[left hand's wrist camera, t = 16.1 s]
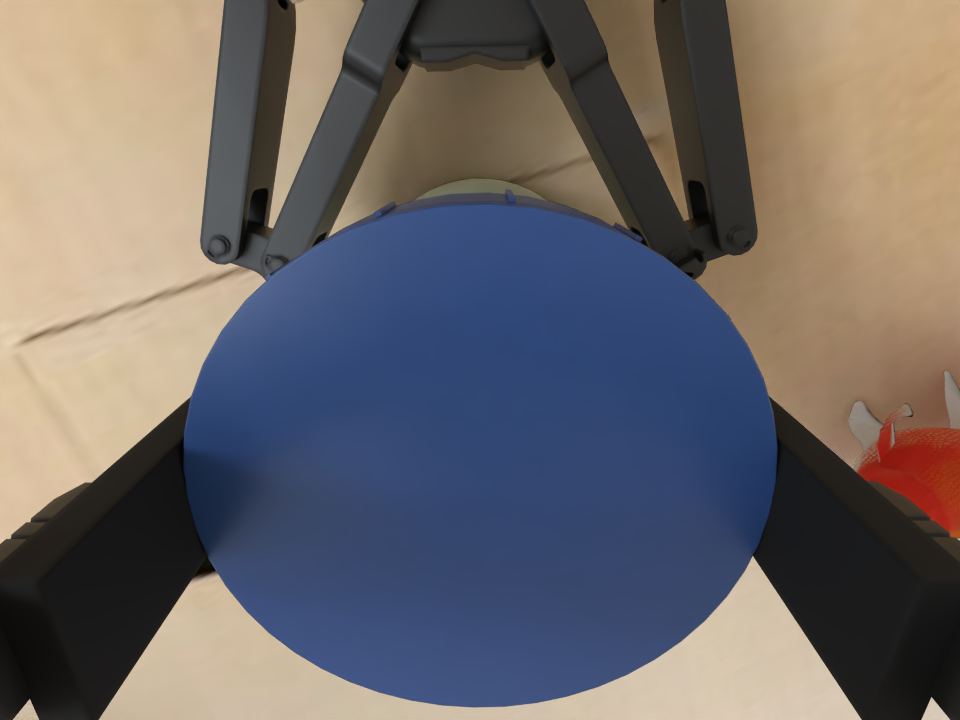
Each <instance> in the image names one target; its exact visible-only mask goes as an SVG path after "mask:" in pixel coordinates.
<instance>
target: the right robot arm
mask: <svg viewBox="0 0 960 720" xmlns="http://www.w3.org/2000/svg"><path fill="white" fill-rule="evenodd" d="M302 1H303V0H224V10H223V20H222V30H221V40H220V50H219V60H218V69H217V79H216V89H215V99H214V109H213V119H212V129H211V139H210V149H209V159H208V169H207V178H206V188H205V198H204V208H203V218H202V228H201V238H200V243H201V249H202V251H203V253H204V255H205V256H206V257H207V258H208V259H209V260H210V261H212V262H214V263H216V264H224V265H225V264H228V263H232V264H235V265H239V266H242V267H245V268H248V269H251V270H253V271H255V272H257V273H259V274H260V275H261V276H262V277H263V278H264V279H265V280H266V281H267V279H266V278H265V277H266V276H267V275H268V274H269V273H271V272H273V271H274V270H276V269H278V268H279V267H281V266H283V265H284V264H286V263H287V262H289V261H291V260H292V259H294V258H296V257H297V256H298V257H299V256H300V255H301V254H303V253H304V252H306V251H307V250H309V249H310V248H312V247H313V246H315V245H317V244H318V243H320V242H322V241H323V240H325V239H327V238H328V236H329V234H330V231H331V229H332V227H333V225H334V223H335V221H336V219H337V217H338V214H339V212H340V210H341V208H342V206H343V204H344V202H345V199H346V197H347V195H348V193H349V191H350V189H351V187H352V185H353V182H354V180H355V178H356V176H357V174H358V172H359V170H360V167H361V165H362V163H363V161H364V159H365V157H366V155H367V153H368V150H369V148H370V146H371V144H372V142H373V140H374V138H375V136H376V133H377V131H378V129H379V127H380V125H381V123H382V121H383V118H384V116H385V114H386V112H387V110H388V108H389V106H390V104H391V102H392V100H393V98H394V97H395V95H396V94H397V93H398V91H399V90H400V88H401V86H402V84H403V82H404V80H405V78H406V75H407V73H408V71H409V69H410V67H411V65H412V63H413V64H415V65H418V66H420V67H423V68H425V69H426V70H427V72H430V71H453V70H456V69H459V68H462V67H465V66H468V65H471V64H480V65H484V66H487V67H491V68H495V69H498V70H524V69H525V67H526V66H528V65H531V64H533V63H535V62H537V61H538V60H539V62H540V64H541V66H542V67H543V69H544V71H545V73H546V75H547V77H548V79H549V81H550V83H551V85H552V86H553V88H554V89H555V91H556V92H557V93H558V94H559V96H560V97H561V99H562V101H563V103H564V105H565V107H566V109H567V111H568V113H569V115H570V116H571V118H572V120H573V122H574V124H575V126H576V128H577V130H578V132H579V134H580V136H581V138H582V140H583V142H584V144H585V146H586V147H587V149H588V151H589V153H590V155H591V157H592V159H593V161H594V163H595V165H596V167H597V169H598V171H599V173H600V175H601V177H602V178H603V180H604V182H605V184H606V186H607V188H608V190H609V192H610V194H611V196H612V198H613V200H614V202H615V204H616V206H617V208H618V210H619V211H620V213H621V215H622V217H623V219H624V221H625V223H626V225H627V227H628V229H629V230H630V231H631V232H633V233H635V234H637V235H638V236H640V237H642V238H643V239H642V240H641V242H640V243H642V244H643V245H645V246H647V247H648V248H650V249H652V250H653V251H655V252H657V253H658V254H660V255H662V256H663V257H665V258H666V259H667V260H669V261H670V262H671V263H672V264H674V265H675V266H676V267H678V268H679V269H680V270H681V271H683V272H684V273H685V274H687V275H688V276H689V277H690V278H692V279H693V280H695V279H697V278H698V277H699V276H700V275H701V274H702V273H703V271H704V270H705V268H706V265H707V261H710V260H713V259H716V258H719V257H721V256H724V255H727V254H730V255H733V256H734V255H741V254H743V253H745V252H747V251H749V250H750V249H751V247H752V246H753V245H754V243H755V241H756V239H757V224H756V216H755V209H754V202H753V195H752V188H751V180H750V173H749V166H748V159H747V152H746V145H745V137H744V130H743V123H742V116H741V109H740V101H739V94H738V87H737V80H736V73H735V65H734V58H733V51H732V44H731V37H730V29H729V22H728V15H727V8H726V1H725V0H654V24H655V32H656V39H657V45H658V50H659V55H660V61H661V66H662V72H663V77H664V83H665V88H666V94H667V99H668V105H669V110H670V115H671V121H672V126H673V132H674V137H675V143H676V148H677V154H678V159H679V164H680V170H681V175H682V181H683V186H684V192H685V197H686V203H687V208H688V214H689V220H687V221H683V219H682V217H681V214H680V212H679V210H678V208H677V206H676V204H675V202H674V200H673V198H672V196H671V193H670V191H669V189H668V187H667V185H666V183H665V181H664V179H663V177H662V175H661V172H660V170H659V168H658V166H657V164H656V162H655V160H654V158H653V156H652V153H651V151H650V149H649V147H648V145H647V143H646V141H645V139H644V137H643V135H642V132H641V130H640V128H639V126H638V124H637V122H636V120H635V118H634V116H633V114H632V111H631V109H630V107H629V105H628V103H627V101H626V99H625V97H624V95H623V93H622V90H621V88H620V86H619V84H618V82H617V80H616V78H615V76H614V74H613V72H612V69H611V67H610V65H609V61H608V54H607V50H606V47H605V44H604V42H603V39H602V37H601V35H600V33H599V31H598V29H597V27H596V25H595V22H594V20H593V18H592V16H591V14H590V12H589V10H588V8H587V6H586V3H585V1H584V0H361V1H362V2H363V3H364V6H363V8H362V10H361V13H360V15H359V17H358V20H357V22H356V24H355V27H354V29H353V31H352V34H351V36H350V38H349V41H348V43H347V46H346V48H345V51H344V55H343V61H342V69H341V72H340V74H339V77H338V79H337V81H336V84H335V86H334V88H333V91H332V93H331V95H330V98H329V100H328V102H327V105H326V107H325V109H324V112H323V114H322V116H321V119H320V121H319V123H318V126H317V128H316V130H315V133H314V135H313V137H312V140H311V142H310V144H309V147H308V149H307V151H306V154H305V156H304V158H303V161H302V163H301V165H300V168H299V170H298V172H297V175H296V177H295V179H294V182H293V184H292V186H291V189H290V191H289V193H288V196H287V198H286V200H285V203H284V205H283V207H282V209H281V212H280V214H279V216H278V219H277V221H276V223H275V226H274V228H273V229H272V228H269V227H268V223H269V216H270V209H271V202H272V195H273V189H274V182H275V175H276V168H277V161H278V154H279V147H280V140H281V134H282V127H283V120H284V113H285V106H286V99H287V92H288V86H289V79H290V72H291V65H292V58H293V51H294V44H295V33H296V10H295V4H296V3H299V2H302Z"/></svg>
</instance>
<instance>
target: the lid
mask: <svg viewBox="0 0 960 720" xmlns="http://www.w3.org/2000/svg"><path fill="white" fill-rule="evenodd" d="M642 239H643V238H642V237H640V236H638V235H637V234H635V233H633V232H631V231H630V230H628V229H626V228H624V227H623V226H621V225H619V224H617V223H615V225H614V226H611V225H609V224H607V223H606V222H604V221H602V220H600V219H598V218H596V217H593V216H591V215H588V214H586V213H583V212H580V211H578V210H575V209H573V208H570V207H568V206H565V205H562V204H558V203H553V202H549V201H545V200H541V199H537V198H533V197H528V196H520V195H514V194H513V192H512V191H511V190H508V189H506V190H505V194H500V193H490V192H485V193H460V194H447V195H441V196H435V197H430V198H424V199H419V200H413V201H409V202H406V203H403V204H400V205H397V206H396V204H395V202H391V203H389V204H387V205H385V206H384V207H382V208H381V209H379V210H378V211H376V212H375V213H374V214H372V215H370V216H368V217H366V218H364V219H362V220H360V221H357V222H355V223H353V224H351V225H349V226H347V227H345V228H343V229H341V230H340V231H338V232H337V233H335V234H333V235H332V236H330V237H328V238H327V239H325V240H323V241H322V242H320V243H318V244H317V245H315V246H313V247H312V248H310V249H309V250H307V251H306V252H304V253H303V254H301V255H300V256H299V257H298V256H297V257H296V258H294V259H292V260H291V261H289V262H287V263H286V264H284V265H283V266H281V267H279V268H278V269H276V270H274V271H273V272H271V273H269V274H268V275H267V276H266V277H265V278H266V279H267V281H266V282H265V283H264V284H263V285H261V286H260V287H259V288H258V289H257V290H256V291H255V292H254V293H253V294H252V295H251V296H250V297H249V298H247V299H246V301H245V302H244V303H243V304H242V306H241V307H240V308H239V309H238V311H237V312H236V313H235V314H234V316H233V317H232V318H231V320H230V321H229V322H228V323H227V325H226V326H225V327H224V328H223V330H222V331H221V333H220V335H219V336H218V338H217V340H216V342H215V344H214V345H213V347H212V349H211V351H210V352H209V354H208V356H207V358H206V360H205V361H204V363H203V366H202V368H201V371H200V374H199V377H198V379H197V382H196V385H195V388H194V390H193V393H192V396H191V399H190V404H189V410H188V415H187V420H186V425H185V431H184V455H183V469H184V477H185V485H186V492H187V497H188V501H189V505H190V509H191V513H192V517H193V521H194V524H195V528H196V531H197V533H198V535H199V538H200V540H201V542H202V544H203V546H204V549H205V551H206V553H207V555H208V558H209V560H210V561H211V563H212V565H213V566H214V568H215V569H216V571H217V573H218V574H219V576H220V577H221V579H222V581H223V582H224V584H225V585H226V587H227V588H228V589H229V591H230V592H231V593H232V594H233V595H234V597H235V598H236V599H237V600H238V602H239V603H240V604H241V605H242V606H243V608H244V609H245V610H246V611H247V612H248V613H249V614H250V615H251V616H252V617H253V618H254V619H255V620H256V621H257V622H258V623H259V624H260V625H261V626H262V627H263V628H264V629H266V630H267V631H268V632H269V633H270V634H271V635H272V636H274V637H275V638H276V639H278V640H279V641H280V642H282V643H283V644H284V645H286V646H287V647H288V648H290V649H291V650H292V651H293V652H295V653H297V654H298V655H300V656H302V657H303V658H305V659H307V660H308V661H310V662H311V663H313V664H315V665H316V666H318V667H320V668H321V669H324V670H326V671H328V672H330V673H332V674H334V675H336V676H338V677H340V678H343V679H345V680H347V681H349V682H351V683H354V684H357V685H360V686H363V687H365V688H368V689H371V690H374V691H377V692H379V693H383V694H387V695H391V696H395V697H399V698H403V699H407V700H411V701H418V702H424V703H430V704H437V705H445V706H460V707H506V706H514V705H523V704H531V703H539V702H543V701H548V700H553V699H557V698H562V697H567V696H570V695H574V694H577V693H580V692H583V691H586V690H590V689H593V688H596V687H599V686H601V685H604V684H606V683H609V682H611V681H613V680H616V679H618V678H620V677H623V676H625V675H627V674H629V673H631V672H633V671H635V670H637V669H638V668H640V667H642V666H644V665H646V664H648V663H649V662H651V661H653V660H655V659H656V658H658V657H659V656H661V655H662V654H664V653H665V652H667V651H668V650H669V649H671V648H672V647H674V646H675V645H677V644H678V643H680V642H681V641H682V640H683V639H685V638H686V637H687V636H688V635H689V634H690V633H691V632H693V631H694V630H695V629H696V628H697V627H698V626H699V625H701V624H702V623H703V622H704V621H705V620H706V619H707V618H708V617H709V616H710V615H711V614H712V612H713V611H714V610H715V609H716V608H717V607H718V606H719V605H720V604H721V603H722V601H723V600H724V599H725V598H726V597H727V596H728V594H729V593H730V591H731V590H732V588H733V587H734V586H735V584H736V583H737V581H738V580H739V579H740V577H741V576H742V574H743V573H744V571H745V570H746V568H747V566H748V564H749V562H750V560H751V558H752V556H753V554H754V552H755V550H756V548H757V547H758V545H759V542H760V540H761V537H762V534H763V531H764V528H765V526H766V523H767V520H768V516H769V512H770V508H771V503H772V499H773V495H774V490H775V485H776V475H777V449H778V447H777V439H776V430H775V422H774V414H773V409H772V406H771V403H770V399H769V396H768V392H767V389H766V385H765V382H764V378H763V376H762V374H761V372H760V370H759V368H758V366H757V363H756V361H755V359H754V357H753V355H752V353H751V351H750V349H749V347H748V345H747V343H746V342H745V340H744V339H743V337H742V336H741V334H740V333H739V331H738V330H737V329H736V327H735V326H734V324H733V323H732V321H731V318H730V317H729V316H728V315H727V314H726V313H725V311H724V310H723V309H722V308H721V307H720V306H719V305H718V304H717V303H716V302H715V301H714V300H713V299H712V298H711V297H710V296H709V295H708V294H707V292H706V291H705V290H704V289H703V288H702V287H701V286H700V285H699V284H698V283H697V282H696V281H694V280H693V279H692V278H690V277H689V276H688V275H687V274H685V273H684V272H683V271H681V270H680V269H679V268H678V267H676V266H675V265H674V264H672V263H671V262H670V261H669V260H667V259H666V258H665V257H663V256H662V255H660V254H658V253H657V252H655V251H653V250H652V249H650V248H648V247H647V246H645V245H643V244H642V243H640V242H641V240H642Z"/></svg>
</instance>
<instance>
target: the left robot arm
mask: <svg viewBox="0 0 960 720" xmlns="http://www.w3.org/2000/svg"><path fill="white" fill-rule="evenodd" d="M190 399H191V397H190V398H189V399H188V400H187V401H185V402H184V403H183V404H182V405H181V406H180V407H178V408H177V409H176V410H175V411H174V412H173V413H172V414H170V415H169V416H168V417H167V418H166V419H165V420H164V421H162V422H161V423H160V424H159V425H158V426H157V427H155V428H154V429H153V430H152V431H151V432H150V433H149V434H147V435H146V436H145V437H144V438H143V439H142V440H140V441H139V442H138V443H137V444H136V445H135V446H134V447H132V448H131V449H130V450H129V451H128V452H127V453H126V454H124V455H123V456H122V457H121V458H120V459H119V460H117V461H116V462H115V463H114V464H113V465H112V466H111V467H109V468H108V469H107V470H106V471H105V472H104V473H103V474H101V475H100V476H99V477H98V478H97V479H96V480H94V481H93V482H92V483H84V484H82V485H80V486H78V487H76V488H74V489H72V490H71V491H69V492H67V493H65V494H63V495H61V496H59V497H58V498H56V499H54V500H53V501H52V502H50V503H49V504H48V505H47V506H46V507H44V508H43V509H42V510H41V511H40V512H38V513H37V514H36V515H35V516H34V517H32V518H31V522H26V523H25V524H24V525H23V526H22V527H20V528H19V529H18V530H17V531H16V532H14V533H13V534H12V535H11V536H12V537H11V539H6V540H5V541H3V542H2V543H1V544H0V720H13V719H14V717H15V716H16V715H17V714H18V713H19V711H20V710H21V709H22V708H23V706H24V705H25V704H26V703H27V701H28V700H29V699H30V700H31V702H32V704H33V707H34V709H35V711H36V713H37V716H38V718H39V720H99V718H100V717H101V715H102V714H103V712H104V711H105V709H106V708H107V706H108V705H109V703H110V702H111V700H112V699H113V697H114V696H115V694H116V693H117V691H118V690H119V688H120V687H121V685H122V684H123V682H124V681H125V679H126V678H127V676H128V675H129V673H130V672H131V670H132V669H133V667H134V666H135V664H136V663H137V661H138V659H139V658H140V656H141V655H142V653H143V652H144V650H145V649H146V647H147V646H148V644H149V643H150V641H151V640H152V638H153V637H154V635H155V634H156V632H157V631H158V629H159V628H160V626H161V625H162V623H163V622H164V620H165V619H166V617H167V616H168V614H169V613H170V611H171V610H172V608H173V607H174V605H175V604H176V602H177V601H178V599H179V598H180V596H181V595H182V593H183V592H184V590H185V589H186V587H187V586H188V584H189V583H190V581H191V580H192V578H193V577H194V575H195V574H196V572H197V571H198V569H199V568H200V566H201V565H202V563H203V562H204V560H205V559H206V557H207V556H208V555H207V553H206V551H205V549H204V546H203V544H202V542H201V540H200V538H199V535H198V533H197V531H196V528H195V524H194V521H193V517H192V513H191V509H190V505H189V501H188V497H187V492H186V485H185V477H184V469H183V455H184V431H185V425H186V420H187V415H188V410H189V404H190ZM769 399H770V403H771V406H772V409H773V414H774V422H775V430H776V439H777V447H778V449H777V475H776V485H775V490H774V495H773V499H772V503H771V508H770V512H769V516H768V520H767V523H766V526H765V528H764V531H763V534H762V537H761V540H760V542H759V545H758V547H757V548H756V550H755V552H754V554H753V557H754V558H755V560H756V561H757V563H758V564H759V566H760V567H761V569H762V570H763V572H764V573H765V575H766V576H767V578H768V579H769V581H770V582H771V584H772V585H773V587H774V588H775V590H776V591H777V593H778V594H779V596H780V597H781V599H782V600H783V602H784V603H785V605H786V606H787V608H788V609H789V611H790V612H791V614H792V615H793V617H794V618H795V620H796V621H797V623H798V624H799V626H800V627H801V629H802V630H803V632H804V633H805V635H806V636H807V638H808V639H809V641H810V642H811V644H812V645H813V647H814V648H815V650H816V651H817V653H818V654H819V656H820V657H821V659H822V660H823V662H824V664H825V665H826V667H827V668H828V670H829V671H830V673H831V674H832V676H833V677H834V679H835V680H836V682H837V683H838V685H839V686H840V688H841V689H842V691H843V692H844V694H845V695H846V697H847V698H848V700H849V701H850V703H851V704H852V706H853V707H854V709H855V710H856V712H857V713H858V715H859V716H860V718H861V719H862V720H921V719H922V717H923V715H924V712H925V710H926V708H927V706H928V703H929V701H930V699H931V697H932V698H933V699H934V700H935V702H936V703H937V704H938V705H939V706H940V708H941V709H942V710H943V711H944V713H945V714H946V715H947V716H948V717H949V719H950V720H960V541H959V540H958V539H957V538H955V537H950V533H949V532H948V531H947V530H946V529H944V528H943V527H942V526H941V525H940V524H938V523H937V522H936V521H931V520H930V516H929V515H927V514H926V513H925V512H924V511H923V510H921V509H920V508H919V507H918V506H917V505H915V504H914V503H913V502H912V501H911V500H909V499H908V498H907V497H905V496H903V495H901V494H899V493H898V492H896V491H894V490H892V489H890V488H888V487H886V486H885V485H883V484H881V483H879V482H877V481H866V480H865V479H864V478H862V477H861V476H860V475H859V474H858V473H857V472H856V471H854V470H853V469H852V468H851V467H850V466H849V465H847V464H846V463H845V462H844V461H843V460H842V459H841V458H839V457H838V456H837V455H836V454H835V453H834V452H833V451H831V450H830V449H829V448H828V447H827V446H826V445H824V444H823V443H822V442H821V441H820V440H819V439H818V438H816V437H815V436H814V435H813V434H812V433H811V432H810V431H808V430H807V429H806V428H805V427H804V426H803V425H801V424H800V423H799V422H798V421H797V420H796V419H795V418H793V417H792V416H791V415H790V414H789V413H788V412H787V411H785V410H784V409H783V408H782V407H781V406H780V405H778V404H777V403H776V402H775V401H774V400H773V399H772V398H770V397H769Z"/></svg>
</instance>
